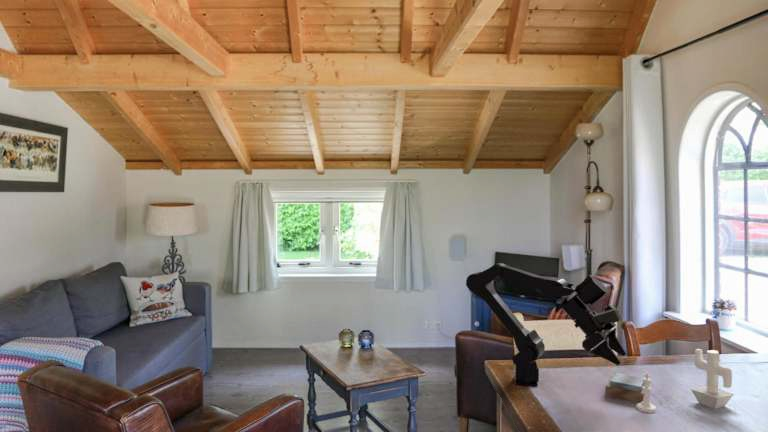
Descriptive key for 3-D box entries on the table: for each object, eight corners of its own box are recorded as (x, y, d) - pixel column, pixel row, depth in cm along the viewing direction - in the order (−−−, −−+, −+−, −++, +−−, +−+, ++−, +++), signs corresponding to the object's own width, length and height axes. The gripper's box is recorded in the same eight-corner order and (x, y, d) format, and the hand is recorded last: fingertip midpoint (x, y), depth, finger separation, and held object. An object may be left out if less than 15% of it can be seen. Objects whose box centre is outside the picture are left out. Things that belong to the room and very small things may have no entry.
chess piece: (659, 413, 129) (660, 376, 129) (639, 411, 130) (640, 374, 130) (652, 405, 134) (653, 369, 133) (633, 404, 135) (634, 368, 134)
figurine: (721, 413, 129) (723, 357, 129) (686, 400, 138) (688, 347, 137) (737, 408, 132) (739, 354, 132) (702, 396, 141) (704, 344, 140)
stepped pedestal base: (605, 396, 140) (605, 381, 140) (611, 385, 148) (611, 371, 148) (644, 404, 134) (644, 388, 134) (648, 393, 143) (649, 378, 142)
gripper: (595, 303, 130) (641, 351, 124) (608, 292, 145) (649, 334, 139) (564, 328, 135) (607, 375, 129) (580, 315, 150) (619, 357, 144)
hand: (622, 359), depth 135 cm, fingers open, 9 cm apart
